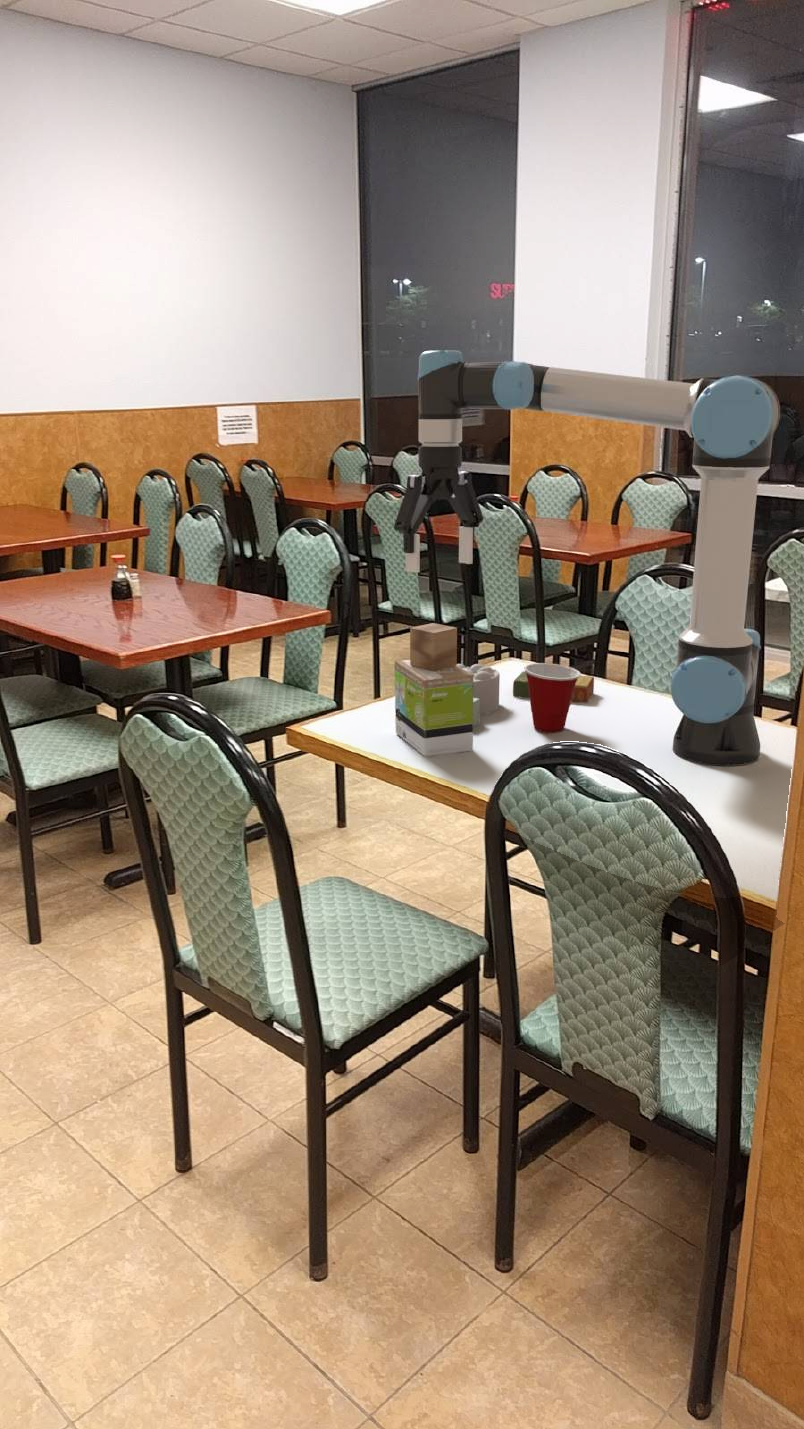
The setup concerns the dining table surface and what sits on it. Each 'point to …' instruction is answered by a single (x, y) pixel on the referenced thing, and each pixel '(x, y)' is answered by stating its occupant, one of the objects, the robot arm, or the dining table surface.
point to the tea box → (434, 708)
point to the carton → (580, 692)
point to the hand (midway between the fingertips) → (439, 567)
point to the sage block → (476, 710)
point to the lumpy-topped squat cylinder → (485, 686)
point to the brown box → (433, 646)
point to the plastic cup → (550, 694)
